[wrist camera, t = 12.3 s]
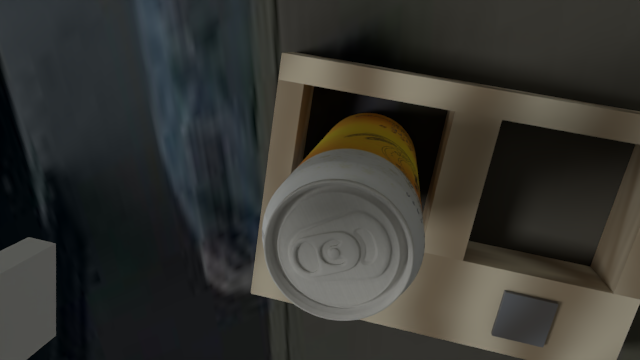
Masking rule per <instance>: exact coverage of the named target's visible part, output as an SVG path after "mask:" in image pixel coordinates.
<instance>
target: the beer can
mask: <svg viewBox="0 0 640 360" xmlns="http://www.w3.org/2000/svg"><path fill="white" fill-rule="evenodd" d="M262 242H263V248H264V256H265V261H266V265H267V268H268V271H269V273H270V275H271V277H272V279H273V281H274V283H275V284H276V286H277V287H278V289H279V290H280V291H281V292H282V293H283V295H284V296H286V297H287V298H288V299H289V300H290V301H291V302H292V303H294V304H295V305H296V306H298V307H299V308H301V309H302V310H304V311H306V312H308V313H310V314H313V315H315V316H318V317H321V318H325V319H330V320H338V321H350V320H358V319H363V318H366V317H369V316H372V315H375V314H377V313H379V312H381V311H382V310H384V309H385V308H387V307H388V306H390V305H391V304H392V303H393V302H394V301H395V300H396V299H397V298H398V297H399V296H400V295H401V294H402V293H403V292H405V290H406V289H407V288H408V287H409V286H410V285H411V283H412V282H413V280H414V279H415V277H416V275H417V273H418V271H419V269H420V267H421V264H422V261H423V256H424V250H425V233H424V224H423V215H422V206H421V197H420V188H419V179H418V170H417V161H416V153H415V148H414V145H413V142H412V140H411V138H410V136H409V135H408V133H407V132H406V131H405V129H404V128H403V127H402V126H401V125H399V124H398V123H397V122H395V121H394V120H392V119H391V118H388V117H386V116H383V115H380V114H376V113H360V114H355V115H352V116H349V117H347V118H345V119H343V120H342V121H340V122H339V123H337V124H336V125H335V126H334V127H333V128H332V129H331V130H330V131H329V132H328V134H327V135H326V136H325V137H324V138H323V139H322V140H321V141H320V142H319V144H318V145H317V146H316V147H315V148H314V149H313V150H312V151H311V152H310V153H309V155H308V156H307V157H306V158H305V159H304V160H303V161H302V162H301V163H300V165H299V166H298V167H297V168H296V169H295V170H294V171H293V172H292V173H291V174H290V176H289V177H288V178H287V179H286V180H285V181H284V182H283V183H282V184H281V186H280V187H279V188H278V189H277V190H276V192H275V193H274V195H273V196H272V197H271V199H270V201H269V203H268V205H267V208H266V211H265V214H264V218H263V224H262Z"/></svg>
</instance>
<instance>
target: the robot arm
mask: <svg viewBox="0 0 640 360" xmlns="http://www.w3.org/2000/svg"><path fill="white" fill-rule="evenodd" d="M55 336H56V243H51V242H47V241H43V240H39V239H34V238H30V237H28V238H26V239H24V240H22V241H20V242H18V243H16V244H14V245H12V246H10V247H8V248H6V249H4V250H2V251H0V360H26V359H28V358H29V357H30V356H31V355H33V354H34V353H35V352H36V351H37V350H39V349H40V348H41V347H42V346H44V345H45V344H46V343H47V342H48V341H50V340H51V339H52V338H53V337H55Z"/></svg>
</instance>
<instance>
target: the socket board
mask: <svg viewBox="0 0 640 360" xmlns="http://www.w3.org/2000/svg"><path fill="white" fill-rule="evenodd" d="M314 86H317V87H323V88H328V89H334V90H339V91H345V92H350V93H356V94H361V95H367V96H373V97H378V98H384V99H389V100H395V101H400V102H406V103H411V104H417V105H422V106H428V107H434V108H439V109H445V110H448V112H447V116H446V120H445V124H444V128H443V132H442V136H441V141H440V145H439V149H438V153H437V157H436V161H435V165H434V170H433V174H432V178H431V182H430V186H429V190H428V194H427V199H426V203H425V207H424V211H423V224H424V233H425V250H424V256H423V261H422V264H421V267H420V269H419V271H418V273H417V275H416V277H415V279H414V280H413V282H412V283H411V285H410V286H409V287H408V288H407V289H406V290H405V292H403V293H402V294H401V295H400V296H399V297H398V298H397V299H396V300H395V301H394V302H393V303H392V304H391V305H390V306H388V307H387V308H385V309H384V310H382V311H381V312H379V313H377V314H375V315H372V316H369V317H366V318H363V319H359V320H364V321H368V322H372V323H376V324H380V325H384V326H389V327H393V328H397V329H401V330H405V331H409V332H414V333H418V334H422V335H426V336H430V337H434V338H439V339H443V340H447V341H451V342H455V343H459V344H464V345H468V346H472V347H476V348H480V349H484V350H489V351H493V352H497V353H501V354H505V355H509V356H513V357H518V358H522V359H526V360H617V357H618V355H619V353H620V350H621V348H622V345H623V343H624V341H625V338H626V336H627V333H628V331H629V329H630V326H631V324H632V321H633V319H634V317H635V314H636V312H637V309H638V307H639V305H640V111H634V110H628V109H622V108H616V107H611V106H605V105H599V104H593V103H587V102H582V101H576V100H570V99H564V98H558V97H553V96H547V95H541V94H535V93H529V92H524V91H518V90H512V89H506V88H500V87H495V86H489V85H483V84H477V83H471V82H466V81H460V80H454V79H448V78H442V77H436V76H431V75H425V74H419V73H413V72H407V71H402V70H396V69H390V68H384V67H378V66H373V65H367V64H361V63H355V62H349V61H344V60H338V59H332V58H326V57H320V56H315V55H309V54H303V53H297V52H286V53H282V56H281V64H280V72H279V79H278V87H277V95H276V102H275V110H274V118H273V125H272V133H271V141H270V149H269V156H268V164H267V172H266V179H265V187H264V195H263V202H262V210H261V218H260V226H259V233H258V241H257V249H256V256H255V264H254V272H253V279H252V287H251V294H255V295H259V296H264V297H268V298H272V299H276V300H280V301H284V302H289V303H292V302H291V301H290V300H289V299H288V298H287V297H286V296H284V295H283V293H282V292H281V291H280V290H279V289H278V287H277V286H276V284H275V283H274V281H273V279H272V277H271V275H270V273H269V271H268V268H267V265H266V261H265V256H264V248H263V242H262V224H263V218H264V214H265V211H266V208H267V205H268V203H269V201H270V199H271V197H272V196H273V195H274V193H275V192H276V190H277V189H278V188H279V187H280V186H281V184H282V183H283V182H284V181H285V180H286V179H287V178H288V177H289V176H290V174H291V173H292V172H293V171H294V170H295V169H296V168H297V167H298V166H299V165H300V163H301V162H302V161H303V157H304V150H305V144H306V137H307V131H308V124H309V118H310V111H311V104H312V98H313V91H314ZM502 120H506V121H511V122H517V123H522V124H528V125H533V126H539V127H544V128H550V129H555V130H561V131H567V132H572V133H578V134H583V135H589V136H594V137H600V138H605V139H611V140H616V141H622V142H627V143H633V144H635V147H634V149H633V152H632V155H631V158H630V160H629V163H628V166H627V168H626V171H625V174H624V176H623V179H622V182H621V185H620V187H619V190H618V193H617V195H616V198H615V201H614V203H613V206H612V209H611V212H610V214H609V217H608V220H607V222H606V225H605V228H604V230H603V233H602V236H601V239H600V241H599V244H598V247H597V249H596V252H595V255H594V257H593V260H592V263H591V266H585V265H581V264H576V263H571V262H567V261H562V260H557V259H553V258H548V257H543V256H539V255H534V254H529V253H524V252H520V251H515V250H510V249H506V248H501V247H496V246H492V245H487V244H482V243H478V242H473V241H469V237H470V233H471V230H472V226H473V223H474V219H475V216H476V212H477V208H478V205H479V201H480V198H481V194H482V190H483V187H484V183H485V180H486V176H487V172H488V169H489V165H490V162H491V158H492V154H493V151H494V147H495V144H496V140H497V136H498V133H499V129H500V126H501V122H502ZM293 304H294V303H293Z"/></svg>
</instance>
